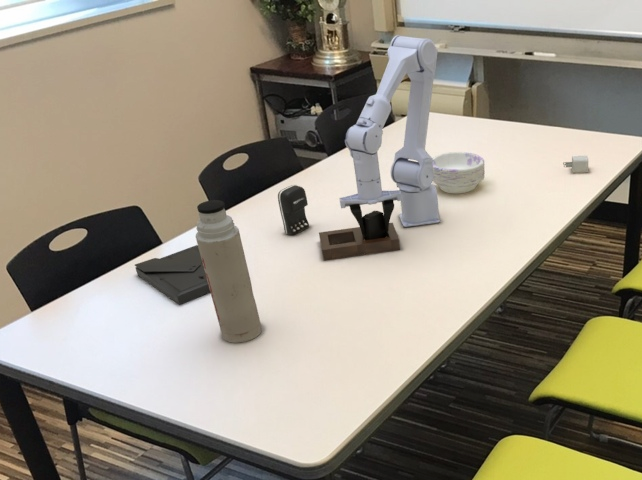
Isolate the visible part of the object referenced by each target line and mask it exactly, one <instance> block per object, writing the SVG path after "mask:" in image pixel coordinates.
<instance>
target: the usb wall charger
mask: <svg viewBox="0 0 642 480" xmlns="http://www.w3.org/2000/svg"><path fill="white" fill-rule="evenodd" d="M562 164H563V168H571V172H572V174H584V173H588V172H589V156H588V155H572V156H571V161H564V162H563V163H562Z"/></svg>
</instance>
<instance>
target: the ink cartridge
mask: <svg viewBox="0 0 642 480" xmlns="http://www.w3.org/2000/svg"><path fill="white" fill-rule="evenodd" d="M362 220H363V226H364V230H365V234H364V236H365V240H371V239H379V238H386V232H385V222H384V213H383V211H379V210H373V211H370V212H368V213H366V214H364V215H362Z"/></svg>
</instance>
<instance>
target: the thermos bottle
mask: <svg viewBox="0 0 642 480" xmlns="http://www.w3.org/2000/svg"><path fill="white" fill-rule="evenodd" d="M225 207H226V203H225V202H224V201H222V200H219V199H211V200H206V201H203V202H201V203H199V204H198V205H197V211H198V218H199V220H198V221H197V222H196V223H195V225H196V231H197V232H196V233H195V240H196V245H198V248H199V251H200V255H201V259H202V263H203V266H204V270H205V274H206V277H207V281H208V285H209V289H210V296H211V300H212V304H213V306H214V310H215V314H216V318H217V322H218V326H219V329H220V334H221V336H222V339H223V340H225V341H226V342H229V343H235V344H236V343H245V342H249V341H252V340H253V339H255V338H257V337H258V336H259V335H260V334H261V333H262V331H263V330H262V329H263V328H262V324H261V320H260V315H259V311H258V306H257V302H256V299H255V296H254V291H253V286H252V280H251V277H250V272H249V268H248V263H247V258H246V255H245V251H244V246H243V241H242V238H241V233H240V230H239V229H240V228H238V226H236V225H235V223H234V219H233V217H232V216H230V215H228V214H227V211H226V209H225Z"/></svg>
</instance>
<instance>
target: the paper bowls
mask: <svg viewBox="0 0 642 480" xmlns="http://www.w3.org/2000/svg"><path fill="white" fill-rule="evenodd" d="M432 159H433V172H434V178H433V181H432V183H433V184H435V185H437V186H438V187H439V189H440V190H442V191H443V192H445V193H449V194H464V193H469V192H472V191H474V190H475V188H476V187H477V186H478V185H479V184H480V183H481V182H483V181H484V179H485V175H486V174H485V173H486V172H485V160H484V157H482V156H480V155H479V154H476V153H472V152H465V151H451V152H444V153H440V154H438V155H435V156H433V157H432Z"/></svg>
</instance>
